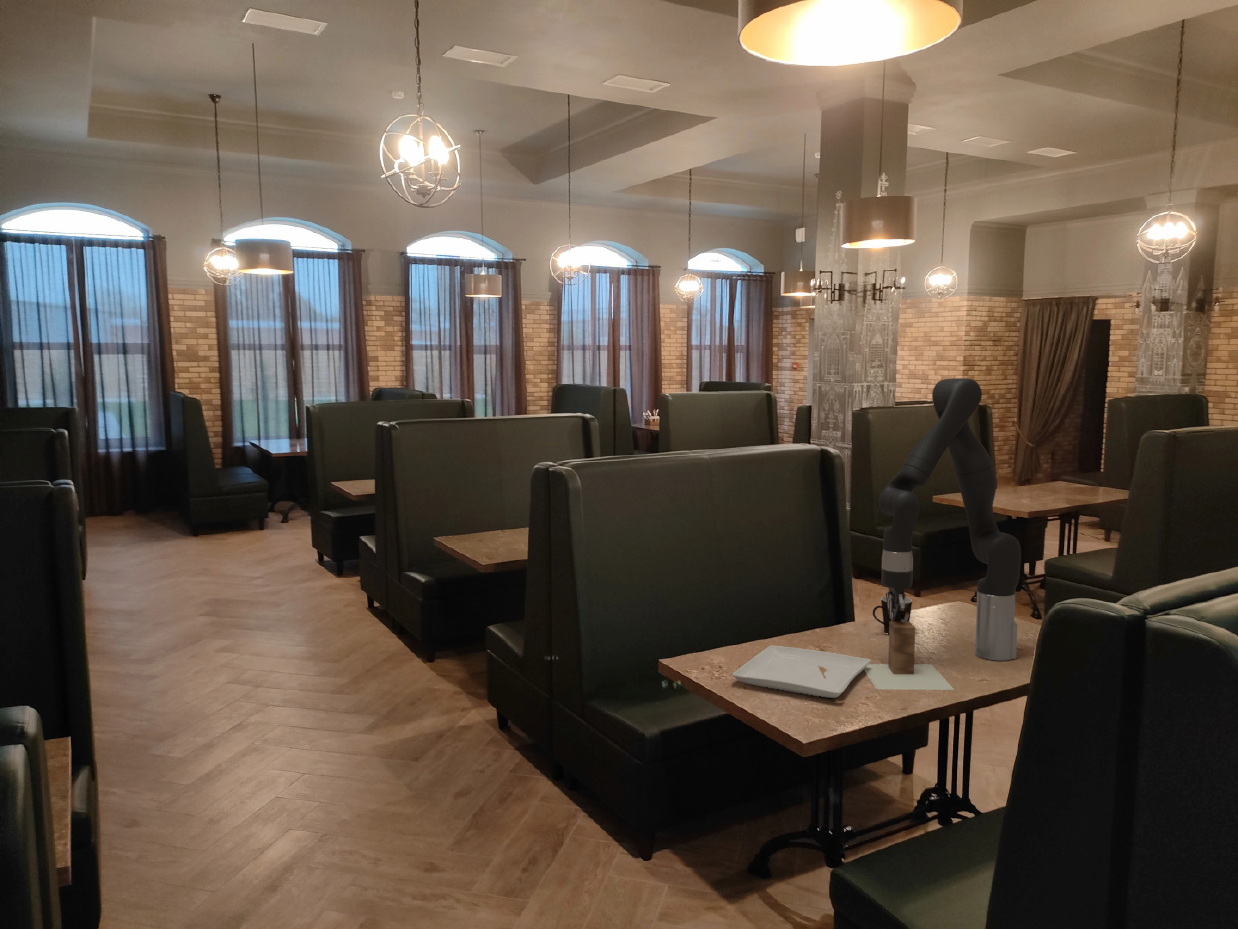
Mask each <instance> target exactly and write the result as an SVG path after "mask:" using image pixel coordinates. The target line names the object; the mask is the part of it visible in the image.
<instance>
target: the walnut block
mask: <svg viewBox="0 0 1238 929" xmlns="http://www.w3.org/2000/svg"><path fill="white" fill-rule="evenodd" d="M915 642H916V627H915V626H914V624H913V623H912V622H911V621H889V635H888V663H887V664H888V667H889V669H890V670H891V672H892V673H893V674H914V664H915V652H916V651H915V650H916V649H915V647H916V646H915V645H916V643H915Z"/></svg>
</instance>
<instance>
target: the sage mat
mask: <svg viewBox="0 0 1238 929" xmlns="http://www.w3.org/2000/svg"><path fill="white" fill-rule="evenodd" d="M863 671H864V672H865V673H866V675H867V677H868V678H869V680H870V681H871V683H872V684H873V686H874V687H875V689H876V690H878V691H879V690H881V691H882V690H885V691H886V690H889V691H891V690H894V691H895V690H896V691H900V690H902V691H903V690H906V691H908V690H909V691H910V690H912V691H914V690H916V691H921V690H922V691H955V688H954V687H953V686H952V685H951V684H950V682H948V681H947V679H946V678H944V677H943V675H942V674H941V673H940V672H939V671H938V669H936V668H935V666H934V665H933V664H932V663H931V664H926V663H925V664H919V663H918V664H917V663H916V664H915V663H914V674H893V673H892V672H891V670H890V669H889V667H888V663H883V664H881V663H869V664H868V665H867V666H866V667H865V669H864V670H863Z"/></svg>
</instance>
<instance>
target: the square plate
mask: <svg viewBox="0 0 1238 929" xmlns="http://www.w3.org/2000/svg"><path fill="white" fill-rule="evenodd" d="M871 661H872V659H870V658H865V657H857V656H855V655H854V656H852V655H847V654H841V653H837V652H836V653H835V652H830V651H829V652H828V651H823V650H815V649H806V648H799V647H792V646H791V647H790V646H783V645H782V646H780V645H773V644H772V645H769V646H767V647H766V648H764V649H763V650H762V651H760V652H759V653H757V654H756V655H754V656H753V657H752V658H751V659H750V660H748V661H747V662H745V663H744V664H743V665H742V666H740V667H739V668H737V669H736V670H735V671H734V672H733V673H732V674H731V675H732V677H733V678H735V680H737V681H739V682H741V683H744V684H747V685H752V686H758V687H762V688H766V687H768V688H767V689H772V688H774V689H773V690H777V689H779V691H783V690H784V692H789V693H796V694H800V693H802V695H807V694H808V695H807V696H811V695H813V696H814V697H819V696H821V697H823V698H829V699H830V698H831V699H835V698H838V697H839V696H841V694H843V693H844V692H845V690H846V689H847V687H848V686H849V685H850V684H851V682H852V681H853V680H854V679H855V678H856V677H857V676H858V675H860V674H861V673H862V671H864V669H865V667H866V666H867V665H868V664H871ZM820 667H821V668H824V669H825V670H826V671H824V673H822V671H821V669H820ZM824 676H825V677H824ZM813 696H812V697H813ZM821 697H819V698H821Z"/></svg>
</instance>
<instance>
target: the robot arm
mask: <svg viewBox="0 0 1238 929" xmlns="http://www.w3.org/2000/svg"><path fill="white" fill-rule="evenodd" d="M931 397H932V404H933V407H934V410H935V413H936V416H937V418H938V421H937V422H936V423H935V424H934V426H933V427H932V428H931V429H930V430H928V432H927V433H926V434H925V435H923V436H922V438H920V440H919V441H917V443H916V444H915V445H914V446H913V448H912V449H911V451H910V452H909V454H908V456H907V457H906V459H905V461H904V463H903V465H902V466H901V469H900V470H899V471H898V472H897V473H896V474H895V475H894V476H893V477H892V478H891V480H890V481H889V482H888V483H887V484H886V485H885V486H884V488H883V489H882V490H881V493H880V495H879V498H878V506H879V510H880V511H881V512H882V513H883V514H885V515H887V516H891V517H893V521H892V525H889V526H887V527H885V528H884V530H883V537H882V538H883V539H882V541H883V542H882V555H881V585H882V586H884V587H886V588H888V591H887V592H886V593H885V596H886V599H887V606H888V613H889V614H890V618H891V621H901V620H904V618H905V615H906V612H907V608H908V605H907V604H905V601H906V597H907V594H906V593H905V590H906V589H909V588H911V587H912V586H913V581H914V580H913V578H914V577H913V573H914V569H913V568H914V558H913V557H914V556H913V533H914V530H915V527H916V524H917V521H918V516H919V513H920V504H919V499H918V497H917V495H916V494H915V493H914V492H913V491H914V490H915V489H916V488H923V487H924V486H925V485H926V483H927V482H928V481H929V479H930V477H931V476H932V474H933V472H934V470H935V469H936V467H937V464H938V463H939V461H940V459H941V458H942V456H943V454H944V453H945V451H946V450H947V448H948V451H949V454H950V457H951V462H952V466H953V469H954V474H955V477H956V481H957V484H958V488H959V492H960V495H961V498H962V499H961V500H962V502H963V507H964V510H965V513H966V514H965V515H966V519H967V523H968V531H969V537H970V538H969V539H970V544H971V550H972V553H973V554H974V556H975V558H976V559H977V560H978V561H979V562H981V563H982V564H985V565H987V568H986V569H987V570H986V576H985V577H982V578H980V579H978V581H977V586H976V587H977V588H976V617H975V618H976V619H975V621H976V622H975V623H976V624H975V648H974V649H975V651H974V652H975V655H976V656H977V657H979V658H981V659H984V660H990V661H999V662H1001V661H1009V660H1016V659H1017V648H1018V646H1017V643H1018V623H1017V622H1016V621H1015V613H1016V608H1015V606H1016V588H1017V586H1018V584H1019V581H1020V575H1021V574H1020V573H1021V565H1022V564H1021V563H1022V548H1021V545H1020V542H1019V539H1017V538H1016V537H1015V536H1014V535H1011V534H1009V533H1005V532H1002V531H1000V530H999V528H998V527H999V526H998V525H997V522H996V518H995V515H994V508H993V506H994V505H993V504H994V500H995V496H996V492H997V491H996V490H997V478H996V473H995V470H994V466H993V462H992V459H991V456H990V455H989V453H988V451H987V449H986V448H985V447H984V446H983V444H982V443H981V441H980V440H979V439H978V437H977V436H976V435H975V433H974V432H973V430H972V428H971V426H970V424H969V420H970V418H971V417H972V416H973V414H974V413H975V412H976V410H977V409H978V407H979V405H980V403H981V401H982V397H983V391H982V388H981V386H980V385H979V382H977V381H976V380H974V379H972V378H967V377H965V378H964V377H960V378H956V377H955V378H944V379H942V380H939V381H937V383H936V384H935V385H934V387H933V390H932V395H931Z"/></svg>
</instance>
